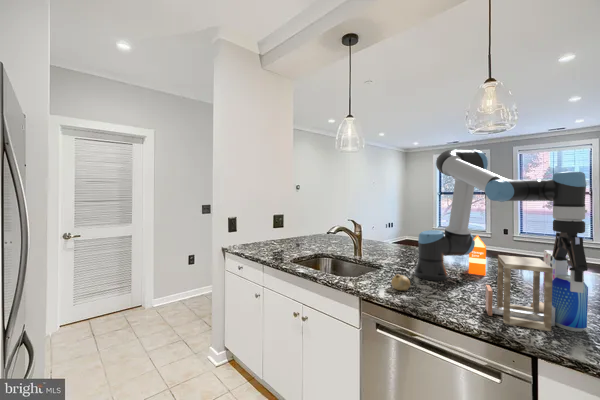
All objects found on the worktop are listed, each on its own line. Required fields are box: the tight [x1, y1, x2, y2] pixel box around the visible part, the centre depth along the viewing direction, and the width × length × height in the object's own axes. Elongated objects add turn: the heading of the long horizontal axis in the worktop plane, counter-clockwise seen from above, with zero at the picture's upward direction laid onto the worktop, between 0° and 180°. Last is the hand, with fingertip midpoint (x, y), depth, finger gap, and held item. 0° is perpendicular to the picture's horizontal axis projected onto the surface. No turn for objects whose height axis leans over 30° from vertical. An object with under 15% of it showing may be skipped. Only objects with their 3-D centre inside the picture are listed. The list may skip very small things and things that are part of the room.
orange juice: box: [468, 234, 487, 276], centre depth 150 cm, size 8×9×20 cm
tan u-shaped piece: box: [485, 284, 556, 327], centre depth 96 cm, size 18×7×9 cm, turn 63°
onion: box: [391, 273, 411, 292], centre depth 124 cm, size 8×8×7 cm
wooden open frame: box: [496, 254, 553, 332], centre depth 95 cm, size 12×14×20 cm
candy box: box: [543, 249, 569, 285], centre depth 123 cm, size 14×6×16 cm, turn 148°
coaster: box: [530, 301, 544, 314], centre depth 102 cm, size 11×11×1 cm
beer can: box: [552, 274, 589, 332], centre depth 90 cm, size 8×8×16 cm
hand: (567, 285), depth 90 cm, fingers open, 13 cm apart
